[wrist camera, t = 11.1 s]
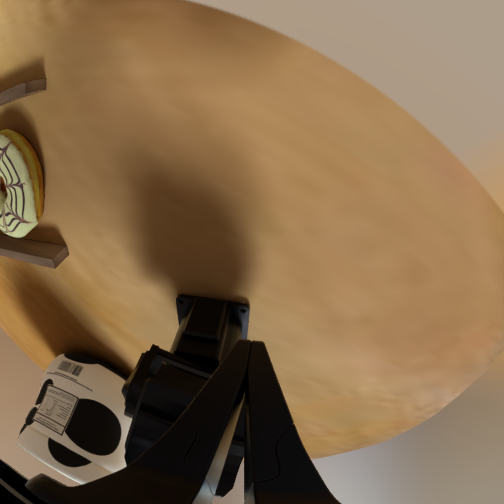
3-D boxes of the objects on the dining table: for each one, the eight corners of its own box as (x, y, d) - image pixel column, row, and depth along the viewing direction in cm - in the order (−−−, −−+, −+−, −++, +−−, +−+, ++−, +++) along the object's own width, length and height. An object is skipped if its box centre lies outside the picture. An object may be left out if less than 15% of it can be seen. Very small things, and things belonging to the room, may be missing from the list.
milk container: (122, 412, 43) (94, 490, 28) (48, 356, 37) (4, 435, 22) (178, 401, 36) (147, 510, 21) (81, 327, 30) (16, 443, 15)
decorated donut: (9, 226, 24) (-12, 243, 20) (-14, 140, 18) (-38, 151, 15) (62, 223, 22) (38, 243, 19) (39, 113, 17) (8, 123, 14)
